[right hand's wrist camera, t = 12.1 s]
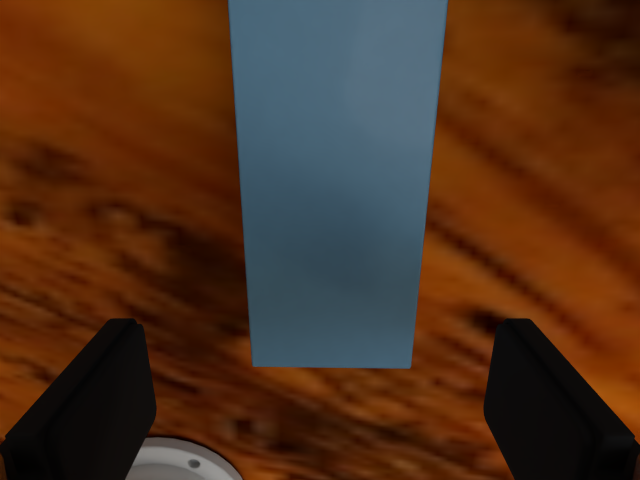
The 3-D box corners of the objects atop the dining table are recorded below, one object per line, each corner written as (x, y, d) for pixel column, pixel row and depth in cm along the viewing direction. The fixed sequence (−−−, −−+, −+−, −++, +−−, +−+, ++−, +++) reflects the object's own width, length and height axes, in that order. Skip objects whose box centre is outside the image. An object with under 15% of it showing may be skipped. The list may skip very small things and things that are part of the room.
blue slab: (266, -226, 18) (183, -630, 7) (405, -226, 18) (514, -635, 7) (281, 249, 26) (251, 367, 15) (377, 250, 25) (411, 369, 15)
